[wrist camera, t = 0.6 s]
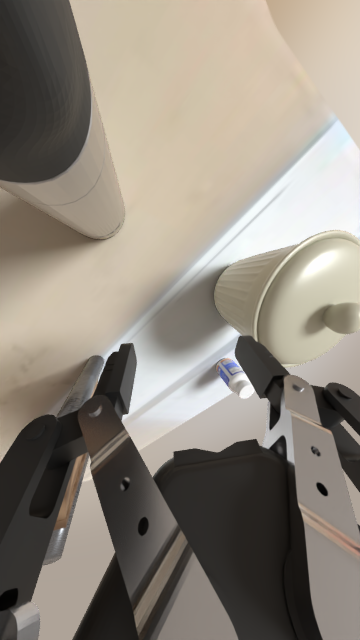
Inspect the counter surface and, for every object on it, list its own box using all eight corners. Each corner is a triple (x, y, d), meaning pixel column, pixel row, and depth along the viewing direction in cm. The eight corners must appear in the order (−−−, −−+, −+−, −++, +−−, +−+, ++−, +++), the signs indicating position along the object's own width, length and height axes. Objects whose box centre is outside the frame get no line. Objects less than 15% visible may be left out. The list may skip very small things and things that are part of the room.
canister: (244, 334, 39) (346, 400, 20) (187, 313, 32) (255, 379, 13) (281, 270, 35) (454, 274, 16) (225, 231, 28) (402, 155, 9)
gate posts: (89, 354, 30) (32, 449, 14) (104, 356, 31) (68, 446, 15) (80, 442, 37) (37, 567, 22) (93, 441, 38) (61, 560, 22)
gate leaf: (88, 370, 30) (47, 450, 17) (101, 371, 31) (71, 448, 18) (82, 433, 35) (47, 532, 22) (93, 432, 36) (65, 527, 23)
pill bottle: (224, 375, 42) (246, 404, 33) (211, 369, 40) (232, 398, 31) (235, 361, 41) (261, 386, 32) (223, 354, 39) (247, 379, 30)
